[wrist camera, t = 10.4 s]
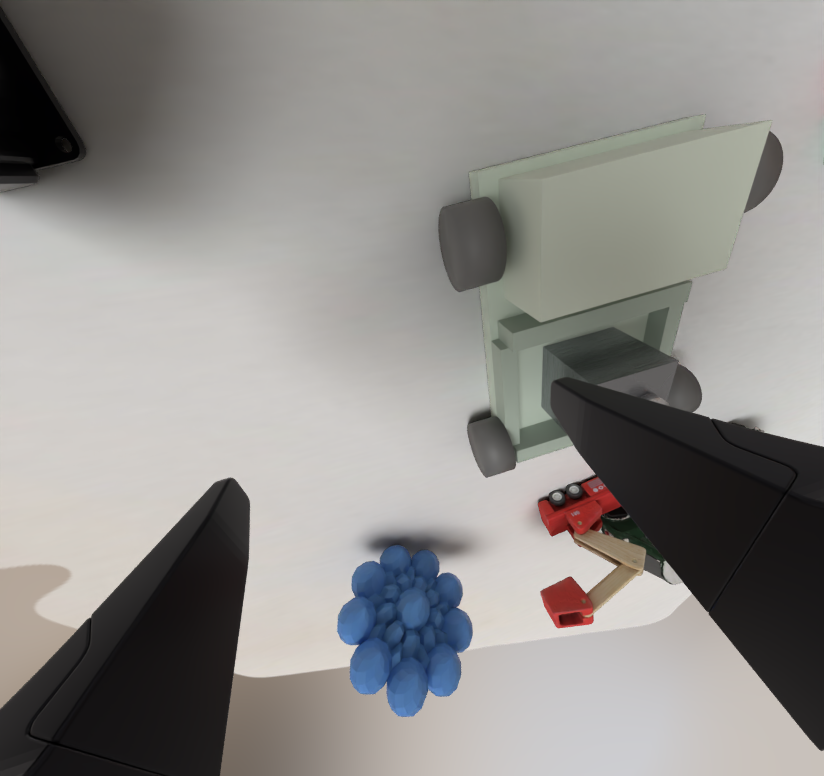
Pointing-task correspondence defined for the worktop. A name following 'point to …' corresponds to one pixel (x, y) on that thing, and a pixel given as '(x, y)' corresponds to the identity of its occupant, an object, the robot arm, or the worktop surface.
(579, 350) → the block
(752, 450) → the robot arm
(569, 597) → the toy fire truck
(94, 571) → the worktop surface
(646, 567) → the miniature car
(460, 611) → the grapes
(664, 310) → the chassis
